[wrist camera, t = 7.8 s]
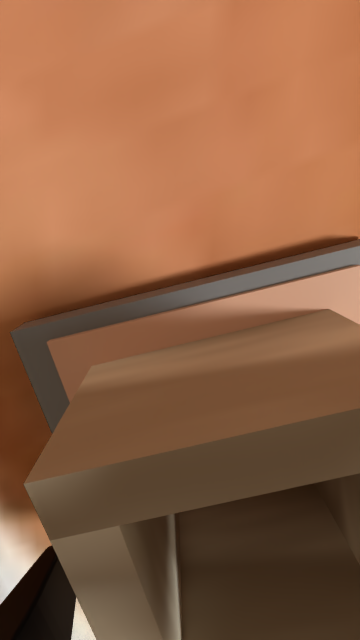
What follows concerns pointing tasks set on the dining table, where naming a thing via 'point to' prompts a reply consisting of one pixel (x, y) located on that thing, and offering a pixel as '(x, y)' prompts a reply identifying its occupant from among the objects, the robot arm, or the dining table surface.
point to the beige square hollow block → (214, 487)
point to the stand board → (183, 317)
